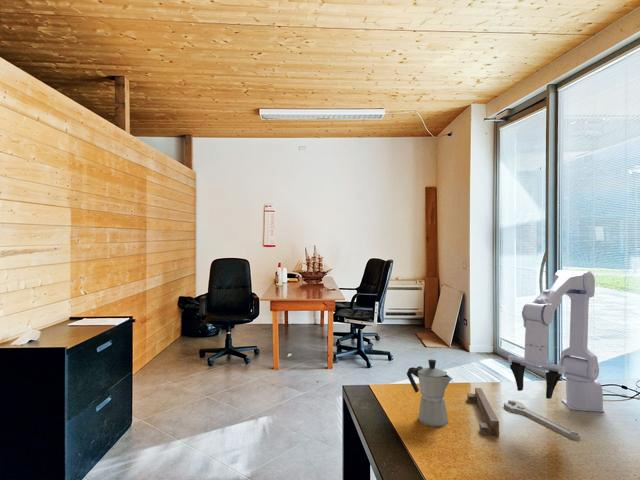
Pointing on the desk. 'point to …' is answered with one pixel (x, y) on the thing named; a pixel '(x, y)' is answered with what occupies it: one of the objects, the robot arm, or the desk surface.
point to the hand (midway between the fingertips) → (534, 394)
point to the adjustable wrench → (540, 419)
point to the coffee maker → (431, 393)
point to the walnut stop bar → (485, 413)
